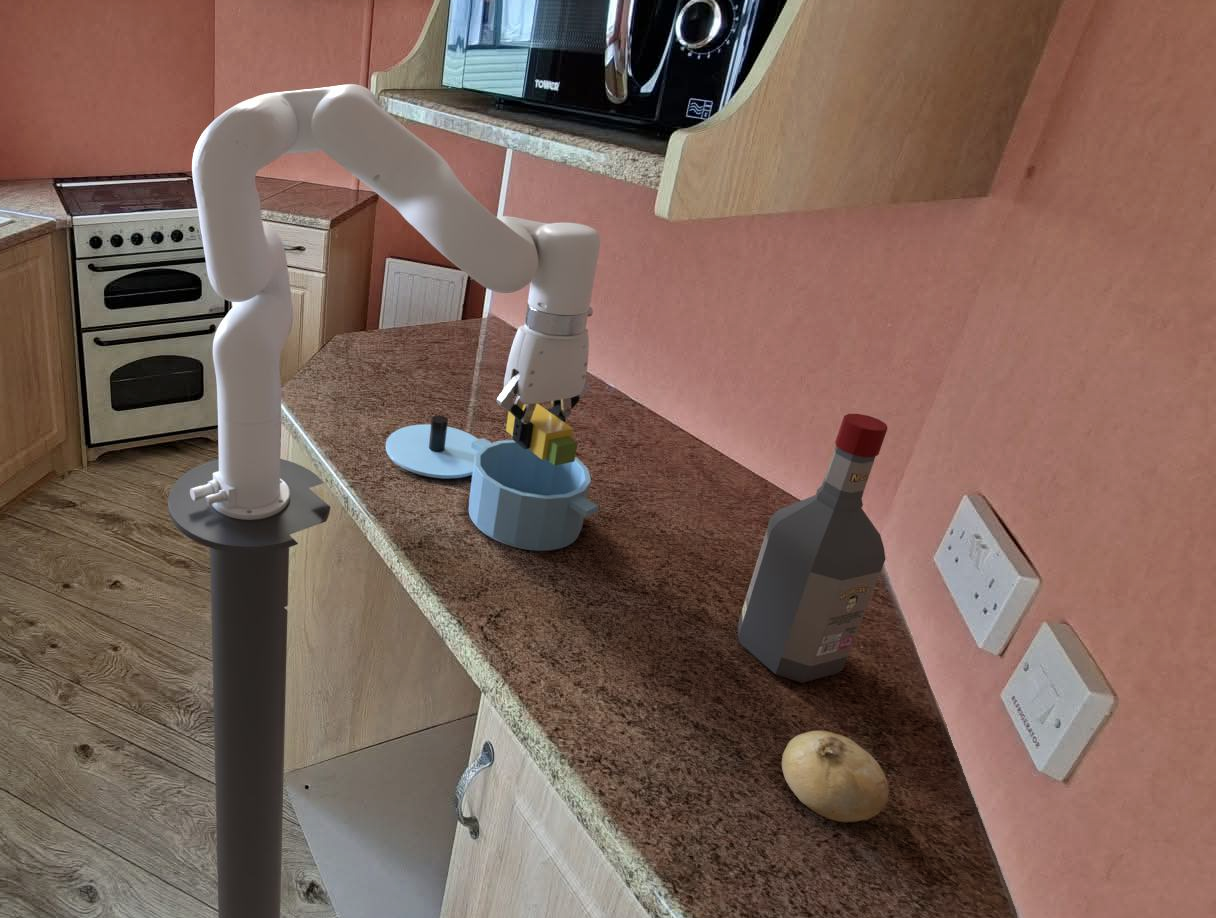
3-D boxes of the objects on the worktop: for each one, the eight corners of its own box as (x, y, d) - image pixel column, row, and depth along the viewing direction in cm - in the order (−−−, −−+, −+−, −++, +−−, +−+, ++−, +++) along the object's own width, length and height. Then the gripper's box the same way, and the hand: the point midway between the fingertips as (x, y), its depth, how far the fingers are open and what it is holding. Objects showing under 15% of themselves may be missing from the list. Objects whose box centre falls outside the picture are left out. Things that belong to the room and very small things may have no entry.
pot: (543, 575, 103) (552, 521, 100) (433, 497, 120) (439, 448, 117) (620, 539, 111) (631, 487, 107) (507, 470, 127) (514, 423, 124)
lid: (431, 492, 121) (435, 454, 118) (365, 445, 134) (367, 410, 132) (509, 464, 129) (515, 428, 126) (439, 421, 142) (443, 388, 140)
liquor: (853, 672, 88) (946, 437, 77) (789, 690, 86) (874, 450, 74) (783, 617, 97) (857, 397, 85) (723, 632, 94) (790, 407, 82)
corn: (578, 461, 106) (583, 435, 104) (550, 466, 105) (554, 440, 103) (531, 426, 115) (535, 401, 113) (505, 431, 113) (509, 406, 112)
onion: (796, 746, 79) (816, 693, 77) (889, 805, 74) (915, 750, 71) (760, 789, 75) (780, 735, 72) (857, 855, 69) (882, 799, 66)
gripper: (590, 303, 109) (569, 420, 116) (483, 316, 104) (469, 438, 111) (629, 321, 102) (605, 445, 110) (517, 336, 98) (499, 464, 105)
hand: (536, 440), depth 110 cm, fingers closed on corn, 4 cm apart
